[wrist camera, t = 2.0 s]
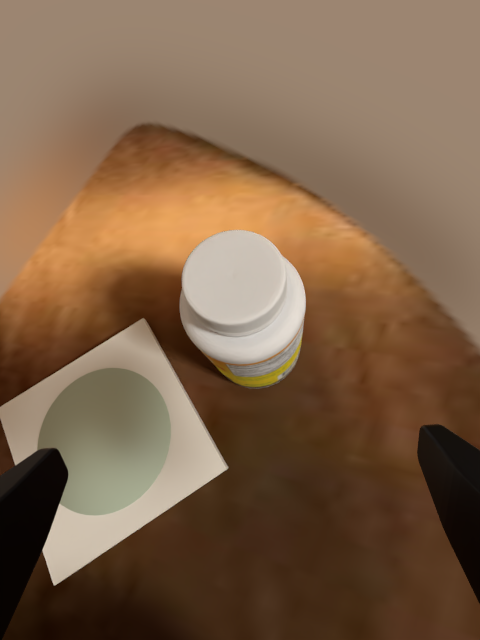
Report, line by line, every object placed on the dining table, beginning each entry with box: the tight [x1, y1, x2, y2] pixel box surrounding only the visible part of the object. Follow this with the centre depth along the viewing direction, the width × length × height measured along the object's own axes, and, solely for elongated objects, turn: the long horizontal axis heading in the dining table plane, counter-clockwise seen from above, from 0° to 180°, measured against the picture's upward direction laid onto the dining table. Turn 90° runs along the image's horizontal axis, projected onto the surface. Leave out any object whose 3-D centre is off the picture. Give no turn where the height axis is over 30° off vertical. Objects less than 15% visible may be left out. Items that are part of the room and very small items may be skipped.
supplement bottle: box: [180, 230, 306, 388], centre depth 18 cm, size 6×6×10 cm
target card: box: [0, 318, 228, 586], centre depth 21 cm, size 11×11×1 cm
